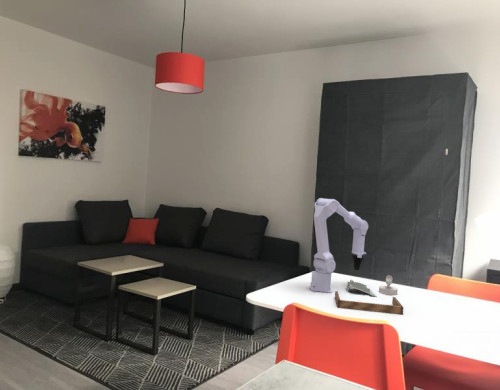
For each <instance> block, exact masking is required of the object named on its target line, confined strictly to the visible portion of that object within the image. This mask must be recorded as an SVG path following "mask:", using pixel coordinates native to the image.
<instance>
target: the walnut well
mask: <svg viewBox="0 0 500 390" xmlns="http://www.w3.org/2000/svg"><path fill="white" fill-rule="evenodd" d="M334 299H335V303H336V307H337V308H340V309H348V310H355V311H356V310H358V311H365V312H366V311H367V312H377V313H383V314H384V313H385V314H393V315H394V314H396V315H404V306H403V304H402V303H401V302H400V301H399V300H398V299H397V298H396V297H395V296H392V301H391V304H385V303H384V304H383V303H372V302H363V301H353V300H343V299H341V296H340V295H339V292H338V290H337V291H336V290H335V293H334Z"/></svg>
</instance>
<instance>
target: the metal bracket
mask: <svg viewBox="0 0 500 390" xmlns="http://www.w3.org/2000/svg"><path fill="white" fill-rule="evenodd" d="M346 283H347V285H346V287H345V288H344V290H345V291H346V292H347V293H348V292H349V290H350V288H352V289H356V290H359V291H361V292H364V293H366V294H368V295H370V296H372V297H374V298H377V297H378V296H377V295H376V294H375V293H374V292H373V291H372V290H371V289H370V288H368V287H367V285H366V284H363V283H361V282H355V281H354V280H353V279H350V281H346Z"/></svg>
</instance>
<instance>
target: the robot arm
mask: <svg viewBox="0 0 500 390" xmlns="http://www.w3.org/2000/svg"><path fill="white" fill-rule="evenodd" d="M334 213H337V214H338V215H340V216H341V217H343V220H344V222H345V223H346V224H348V225H349V226H351V229H352V230H353V238H352V250H351V254H352V255H351V258H352V261H353V269H354V270H355V271H359V270H360V267H361V265H362V261H363V260H364V256H363V255H367V252H365V241H366V240H365V238H366V234H367V232H368V229H369V223H368V221H366V220H365V219H362V218H361V216H358V215H357V214H356V213H355V212H354V211H348V210H347V209H346V208H345V207H344V206H342V204H340V202H339V201H338V200H336V199H334V198H322V197H319V198H318V199H316V202H314V213H313V221H314V222H313V223H314V229H315V239H316V248H317V249H316V250H317V252H316V253H315V254H314V255H313V257H314V259H313V267H314V268H315V270H312V271H311V281H310V285H309V286H310V290H311V291H312V292H320V293H329V294H330V293H332V289H331V284H332V274H333V272H334V271H335V270H336V265H337V264H336V261H335V258H334V255H333V254H332V253H331V251H330V245H329V236H328V235H329V234H328V227H327V226H328V225H327V219H328V218H329V217H331V216H332V215H333V214H334Z"/></svg>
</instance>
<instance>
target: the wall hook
mask: <svg viewBox="0 0 500 390" xmlns="http://www.w3.org/2000/svg"><path fill="white" fill-rule="evenodd" d="M392 283H393V277H392V275H389V274H388V275H386V277H385V284H386V285H379V287H378V293H379V294H382V295H387V296H397V295H398V291H399V289H398V288H397V287H394V286H391V285H392Z"/></svg>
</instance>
